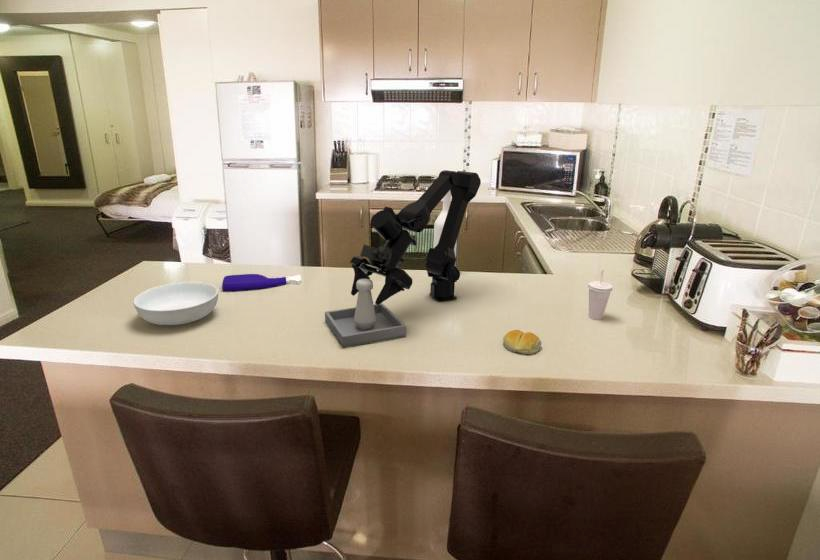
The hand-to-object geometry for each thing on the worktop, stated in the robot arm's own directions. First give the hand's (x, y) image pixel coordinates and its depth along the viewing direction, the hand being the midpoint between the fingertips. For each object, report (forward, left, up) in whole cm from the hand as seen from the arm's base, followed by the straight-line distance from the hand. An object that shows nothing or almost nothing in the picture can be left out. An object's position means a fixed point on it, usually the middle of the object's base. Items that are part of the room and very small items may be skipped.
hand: (364, 299), depth 127 cm
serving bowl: (+44, -26, -9) cm, 52 cm away
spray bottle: (+19, -46, -9) cm, 50 cm away
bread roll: (-32, +24, -9) cm, 41 cm away
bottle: (-42, -35, -9) cm, 55 cm away
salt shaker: (0, 0, -8) cm, 8 cm away
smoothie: (-63, +17, -9) cm, 66 cm away
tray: (0, 0, -8) cm, 8 cm away
